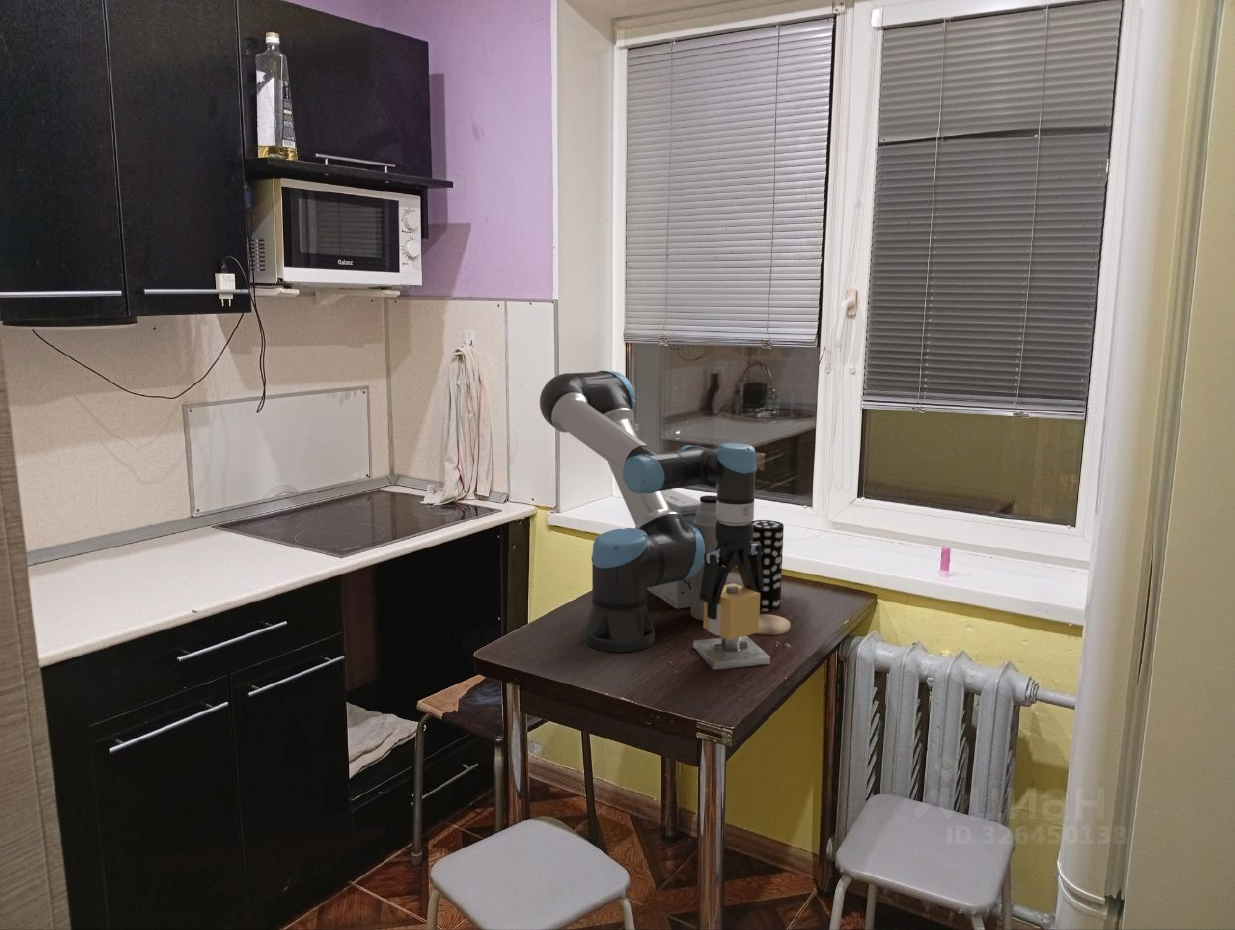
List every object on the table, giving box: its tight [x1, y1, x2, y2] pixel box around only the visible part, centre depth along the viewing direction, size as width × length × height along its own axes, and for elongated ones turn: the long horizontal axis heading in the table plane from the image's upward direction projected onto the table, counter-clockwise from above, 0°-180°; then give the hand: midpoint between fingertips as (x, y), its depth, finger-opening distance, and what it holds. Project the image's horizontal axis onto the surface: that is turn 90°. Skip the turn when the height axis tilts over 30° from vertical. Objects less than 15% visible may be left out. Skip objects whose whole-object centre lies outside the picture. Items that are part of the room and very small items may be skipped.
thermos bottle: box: [690, 495, 727, 621], centre depth 211 cm, size 8×8×28 cm
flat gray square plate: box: [692, 635, 771, 670], centre depth 188 cm, size 12×12×12 cm
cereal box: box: [647, 489, 701, 610], centre depth 226 cm, size 22×8×25 cm, turn 25°
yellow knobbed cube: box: [702, 582, 761, 640], centre depth 188 cm, size 8×8×9 cm
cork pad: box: [755, 613, 792, 636], centre depth 206 cm, size 11×11×1 cm
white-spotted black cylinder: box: [748, 519, 785, 612], centre depth 218 cm, size 8×8×20 cm
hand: (730, 628), depth 188 cm, fingers closed on yellow knobbed cube, 8 cm apart
